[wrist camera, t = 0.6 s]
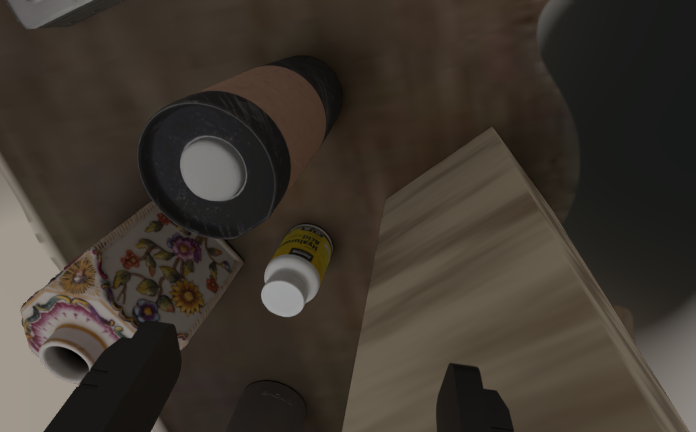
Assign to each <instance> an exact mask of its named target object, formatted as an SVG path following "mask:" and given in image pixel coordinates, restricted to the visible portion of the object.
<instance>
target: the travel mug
mask: <svg viewBox="0 0 696 432" xmlns="http://www.w3.org/2000/svg"><path fill="white" fill-rule="evenodd" d="M341 105H342V92H341V87H340V84H339V82H338V79H337V78H336V76H335V74H334V73H333V72H332V70H331V69H330V68H329V67H328V66H327V65H325V64H324V63H323V62H321V61H319V60H317V59H315V58H312V57H307V56H295V57H290V58H286V59H283V60H280V61H276V62H273V63H270V64H266V65H263V66H260V67H256V68H253V69H251V70H248V71H246V72H244V73H241V74H239V75H237V76H234V77H232V78H230V79H227V80H225V81H223V82H220V83H218V84H216V85H213V86H211V87H209V88H206V89H204V90H202V91H199V92H197V93H195V94H192V95H190V96H187V97H185V98H183V99H180V100H178V101H176V102H173V103H171V104H169V105H167V106H165V107H164V108H162V109H161V110H159V111H158V112H157V113H155V114H154V115H153V116H152V117H151V118H150V120H149V121H148V122H147V124H146V125H145V127H144V129H143V131H142V133H141V135H140V139H139V142H138V149H137V162H138V169H139V173H140V177H141V180H142V182H143V185H144V187H145V189H146V191H147V193H148V195H149V196H150V198H151V199H152V201H153V202H154V203H155V205H156V206H157V207H158V208H159V210H160V211H161V212H162V213H163V214H164V215H165V216H167V217H168V218H169V219H170V220H171V221H173V222H174V223H176V224H177V225H179V226H180V227H182V228H184V229H185V230H187V231H189V232H192V233H194V234H197V235H200V236H203V237H207V238H213V239H234V238H237V237H239V236H241V235H243V234H244V233H246V232H248V231H249V230H251V229H253V228H255V227H256V226H258V225H259V224H261V223H262V222H264V221H265V220H267V219H268V218H269V217H270V216H271V214H272V213H273V211H274V209H275V208H276V206H277V205H278V204H279V202H280V201H281V200H282V198H283V197H284V196H285V194H286V193H287V191H288V190H289V189H290V187H291V186H292V185H293V183H294V182H295V181H296V179H297V178H298V177H299V175H300V174H301V173H302V171H303V170H304V169H305V167H306V166H307V165H308V163H309V162H310V161H311V159H312V158H313V157H314V155H315V154H316V152H317V151H318V150H319V148H320V147H321V145H322V143H323V141H324V140H325V138H326V136H327V135H328V133H329V131H330V130H331V128H332V126H333V124H334V123H335V121H336V119H337V117H338V115H339V112H340V109H341Z"/></svg>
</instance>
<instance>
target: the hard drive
mask: <svg viewBox="0 0 696 432" xmlns="http://www.w3.org/2000/svg"><path fill="white" fill-rule="evenodd" d="M5 1H6V3H7V4H8V6H9V7H10V9H11V11H12V12H13V14H14V16H15V17H16V19H17V21H18V22H19V23H20V24H21V25H22V26H23V27H24V28H25V29H37V28H51V27H65V26H71V25H73V24H76V23H78V22H80V21H82V20H84V19H86V18H88V17H90V16H92V15H94V14H96V13H99V12H101V11H103V10H105V9H107V8H109V7H111V6H113V5H115V4H117V3H119V2H121V1H124V0H5Z"/></svg>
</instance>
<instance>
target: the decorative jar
mask: <svg viewBox="0 0 696 432" xmlns="http://www.w3.org/2000/svg"><path fill="white" fill-rule="evenodd" d="M243 263H244V262H243V260H242V259H241V258H240V257H239V256H238V254H237V253H236V252H235V251H234V250H233V249H232V248H231V247H230V246H229V245H228V244H227V243H226V242H225V241H224V240H223V239H213V238H207V237H203V236H200V235H197V234H194V233H192V232H189V231H187V230H185V229H184V228H182V227H180V226H179V225H177V224H176V223H174V222H173V221H171V220H170V219H169V218H168V217H167V216H165V215H164V214H163V213H162V212H161V211H160V210H159V208H158V207H157V206H156V205H155V203H154V202H153V201H152V202H150V203H149V204H147V205H146V206H145V207H143V208H142V209H141V210H139V211H138V212H137V213H135V214H134V215H133V216H132V217H130V218H129V219H128V220H126V221H125V222H124V223H122V224H121V225H120V226H118V227H117V228H116V229H114V230H113V231H112V232H110V233H109V234H108V235H106V236H105V237H104V238H102V239H101V240H100V241H99V242H97V243H96V244H95V245H94V246H92V247H90V248H89V249H88V250H85V252H83V253H82V254H81V255H80V256H79V257H77V258H76V259H75V260H74V261H73V262H72V263H70V264H69V265H67V266H66V267H64V270H63V271H62V272H60V273H59V274H58V275H56V277H54V278H52V279H51V280H50V282H49V283H48V285H46V286H45V287H44V288H43V289H41V290H39V291H37V292H36V293H35V294H34V295H33V296H31V297H30V298H29V299H28V300H27V302H25V303H24V304H23V306H22V307H21V310H20V311H21V314H22V325H23V327H24V329H25V334H26V337H27V340H28V344H29V347H30V349H31V351H32V352H33V353H34V354H35V355H36V356H37V357H38V358H39V359H40V361H41V363H42V364H43V365H44V366H45V367H46V369H48V370H49V371H50V372H51V373H52V374H53V375H55V376H56V377H58V378H60V379H62V380H64V381H67V382H71V383H74V384H78V385H80V382H81V381H82V379H83V378H84V376H85V375H86V374H87V372H90V368H91V367H92V366H93V364H94V363H95V362H96V360H97V359H98V357H99V356H100V355H101V353H102V352H103V351H104V350H105V349H107V348H108V347H109V346H111V345H112V344H113V343H115V342H116V341H117V340H118V339H120V338H121V337H125V338H132V336H133V335H134V334H135V332H136V331H137V329H138V328H139V326H140V325H141V324H142V323H143V322H144V321H146V320H150V321H157V322H164V323H171V324H174V325H175V327H176V331H177V337H178V342H179V348H180V350H182V349H184V348H185V347H186V345H187V344H188V342H189V340H190V339H191V337H192V336H193V335H194V333H195V332H196V331H197V330H198V328H199V327H200V326H201V324H202V323H203V321H204V320H205V319H206V317H207V316H208V315H209V313H210V312H211V310H212V309H213V307H214V306H215V305H216V304H217V302H218V301H219V299H220V298H221V297H222V295H223V294H224V292H225V291H226V289H227V288H228V287H229V285H230V284H231V282H232V280H233V279H234V277H235V276H236V274H237V273H238V271H239V270H240V268H241V267H242V266H243Z"/></svg>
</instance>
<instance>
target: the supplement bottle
mask: <svg viewBox="0 0 696 432" xmlns="http://www.w3.org/2000/svg"><path fill="white" fill-rule="evenodd" d="M332 251H333V246H332V242H331V240H330V238H329V236H328V235H327V233H326V232H325V231H323V230H322V229H321V228H319V227H317V226H314V225H309V224H303V225H298V226H296V227H294V228H292V229H291V230H290V231H289V232H288V233H287V235H286V236H285V238H284V239H283V241H282V243H281V244H280V246H279V248H278V249H277V251H276V253H275V254H274V256H273V257H272V259H271V261H270V262H269V264H268V266H267V268H266V270H265V274H264V280H265V285H264V287H263V289H262V293H261V298H262V301H263V303H264V305H265V306H266V308H267V309H268V310H269V311H271V312H272V313H274V314H276V315H279V316H283V317H290V316H294V315H296V314H298V313H299V312H300V311H301V310H302V309H303V307H304V305H305V303H307V302H309V301H310V300H311V299H313V298H314V296H315V295H316V294H317V292H318V290H319V287H320V284H321V282H322V279H323V276H324V274H325V271H326V269H327V266H328V263H329V261H330V258H331V255H332Z"/></svg>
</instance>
